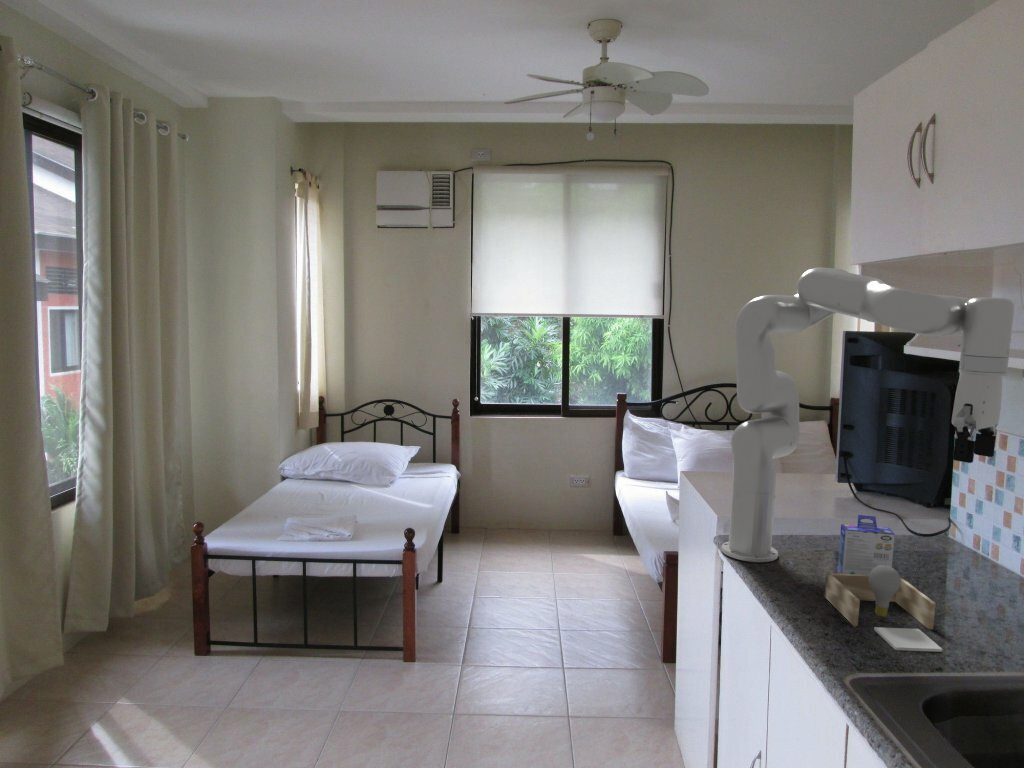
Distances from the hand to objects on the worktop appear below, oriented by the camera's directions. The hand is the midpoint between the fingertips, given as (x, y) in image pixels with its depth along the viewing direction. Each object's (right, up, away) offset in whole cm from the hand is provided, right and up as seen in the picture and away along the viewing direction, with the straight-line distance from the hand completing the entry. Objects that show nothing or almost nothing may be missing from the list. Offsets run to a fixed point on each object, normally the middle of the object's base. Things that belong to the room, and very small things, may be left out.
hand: (973, 458), depth 143 cm
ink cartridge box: (-11, -29, +21) cm, 37 cm away
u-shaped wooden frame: (-15, -30, +6) cm, 34 cm away
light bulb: (-15, -31, +4) cm, 34 cm away
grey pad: (-15, -32, -6) cm, 36 cm away
